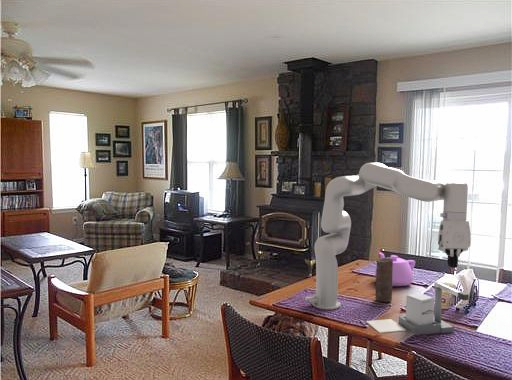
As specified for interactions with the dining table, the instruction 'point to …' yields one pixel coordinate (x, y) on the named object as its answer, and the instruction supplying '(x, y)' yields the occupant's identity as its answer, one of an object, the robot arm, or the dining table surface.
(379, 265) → the brown rectangular block
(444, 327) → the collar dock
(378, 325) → the tile pad
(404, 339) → the dining table surface
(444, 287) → the bar
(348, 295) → the dining table surface
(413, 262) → the kettle
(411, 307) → the supplement box
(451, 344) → the dining table surface
